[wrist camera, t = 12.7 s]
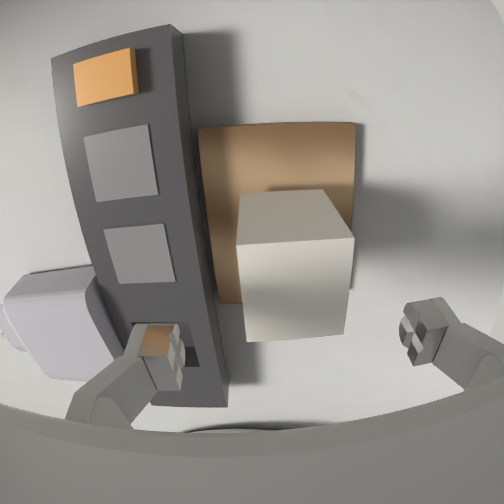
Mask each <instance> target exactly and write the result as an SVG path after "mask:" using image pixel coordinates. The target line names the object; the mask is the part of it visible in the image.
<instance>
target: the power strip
mask: <svg viewBox="0 0 504 504" xmlns="http://www.w3.org/2000/svg"><path fill="white" fill-rule="evenodd" d="M51 61H52V75H53V85H54V95H55V103H56V111H57V118H58V125H59V131H60V137H61V143H62V149H63V154H64V159H65V164H66V169H67V174H68V178H69V183H70V187H71V191H72V195H73V199H74V203H75V207H76V211H77V215H78V219H79V222H80V226H81V230H82V233H83V236H84V240H85V243H86V246H87V250H88V253H89V256H90V259H91V262H92V265H93V268H94V271H95V274H96V277H97V280H98V283H99V286H100V289H101V291H102V294H103V297H104V299H105V302H106V305H107V307H108V310H109V313H110V315H111V318H112V320H113V323H114V325H115V328H116V330H117V332H118V335H119V337H120V339H121V342H122V344H123V346H124V349H126V346H127V344H128V341H129V338H130V335H131V332H132V330H133V327H134V325H136V324H149V323H176V324H178V327H179V330H180V335H179V338H180V339H181V340H182V341H183V344H184V348H185V364H184V367H183V368H182V369H181V372H182V375H183V377H182V383H181V390H180V391H157V393H156V394H155V396H154V397H153V398H152V399H151V400H150V403H151V405H155V406H173V407H228V388H229V380H228V375H227V369H226V364H225V359H224V353H223V348H222V342H221V337H220V331H219V325H218V320H217V314H216V308H215V302H214V296H213V290H212V283H211V277H210V271H209V264H208V258H207V251H206V244H205V237H204V230H203V223H202V216H201V209H200V201H199V193H198V186H197V178H196V170H195V161H194V153H193V144H192V135H191V126H190V116H189V106H188V96H187V85H186V73H185V62H184V49H183V35H182V33H181V32H180V31H178V30H177V29H176V28H175V27H173V26H172V25H171V24H168V25H163V26H158V27H153V28H149V29H144V30H140V31H136V32H131V33H127V34H124V35H120V36H116V37H113V38H109V39H106V40H102V41H99V42H96V43H93V44H89V45H86V46H83V47H80V48H78V49H75V50H72V51H69V52H66V53H64V54H61V55H58V56H56V57H53V58H51Z"/></svg>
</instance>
